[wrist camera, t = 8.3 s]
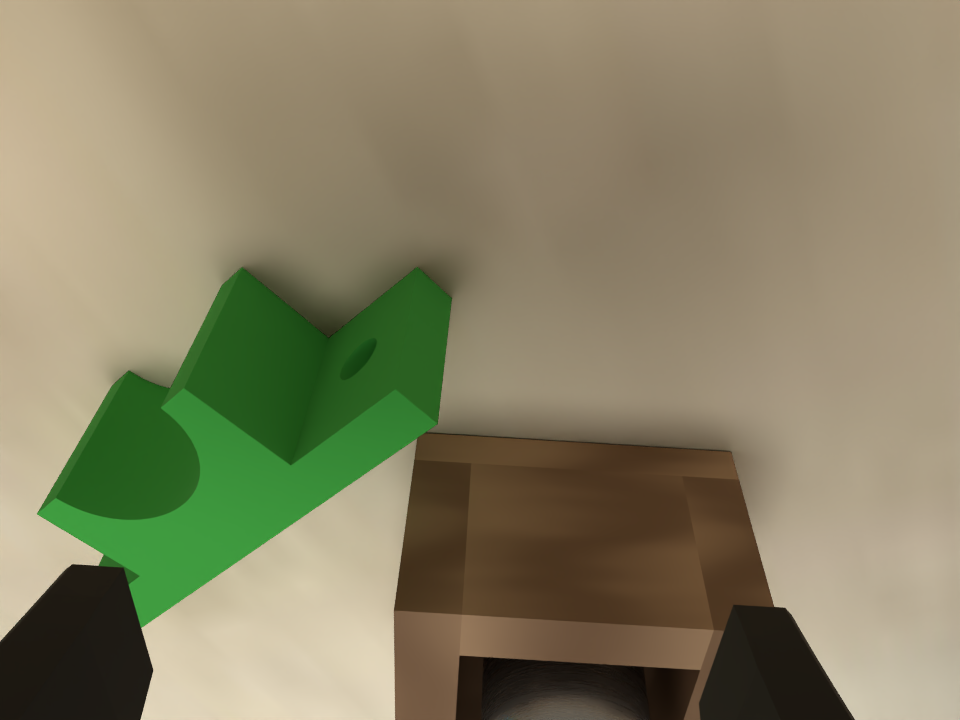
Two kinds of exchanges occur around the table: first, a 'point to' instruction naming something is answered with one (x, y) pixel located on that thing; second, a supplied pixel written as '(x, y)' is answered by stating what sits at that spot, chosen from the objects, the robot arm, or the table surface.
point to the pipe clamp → (248, 433)
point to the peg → (562, 691)
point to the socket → (568, 566)
